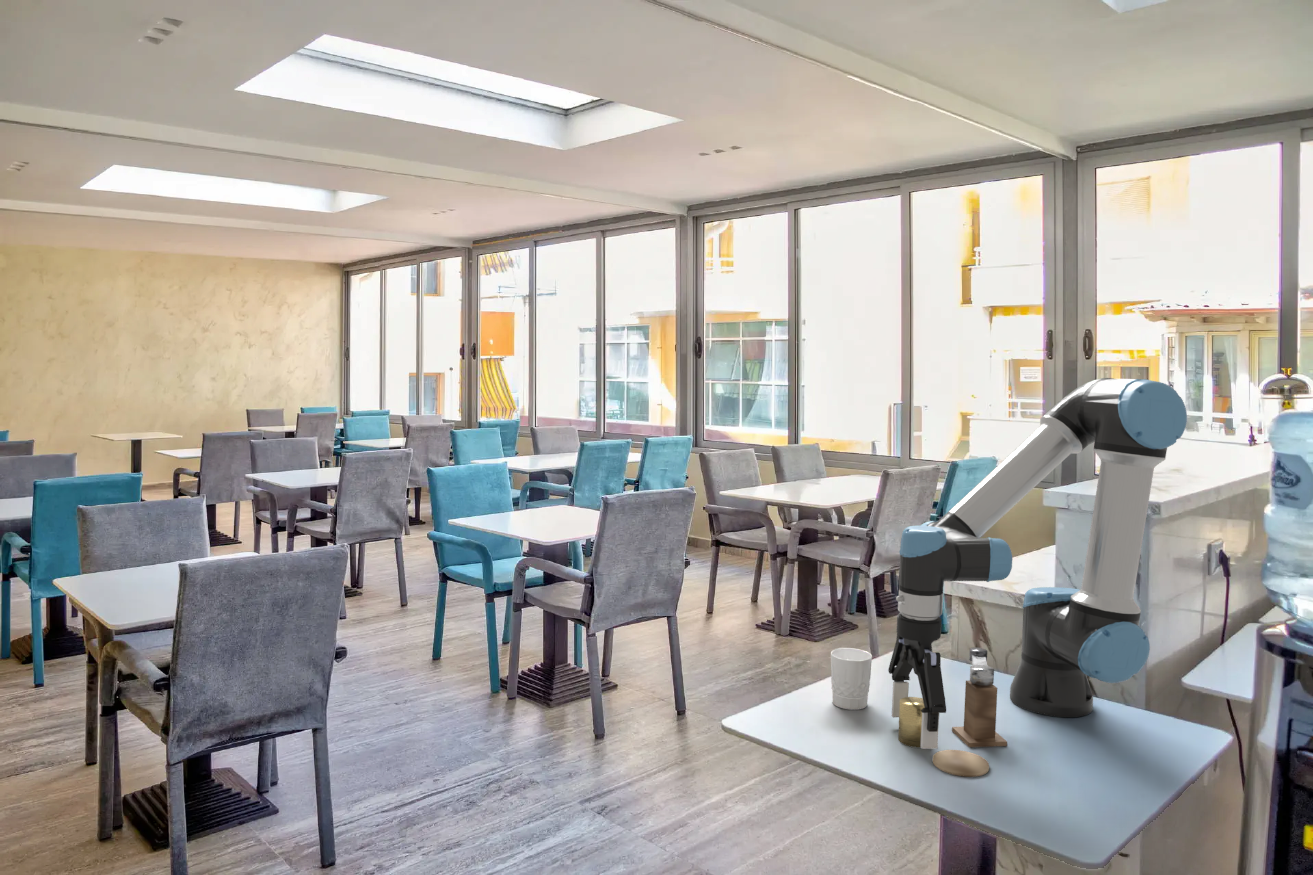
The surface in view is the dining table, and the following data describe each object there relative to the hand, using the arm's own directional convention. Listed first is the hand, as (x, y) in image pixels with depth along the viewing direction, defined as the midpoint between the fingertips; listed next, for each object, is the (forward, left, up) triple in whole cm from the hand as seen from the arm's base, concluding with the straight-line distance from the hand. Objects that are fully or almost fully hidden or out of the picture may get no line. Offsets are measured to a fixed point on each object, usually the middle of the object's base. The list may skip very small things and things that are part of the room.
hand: (913, 731), depth 164 cm
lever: (-14, -5, +9) cm, 18 cm away
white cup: (+6, -18, -2) cm, 19 cm away
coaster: (-4, +10, -2) cm, 11 cm away
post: (-12, 0, -2) cm, 12 cm away
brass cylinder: (0, 0, -2) cm, 2 cm away
